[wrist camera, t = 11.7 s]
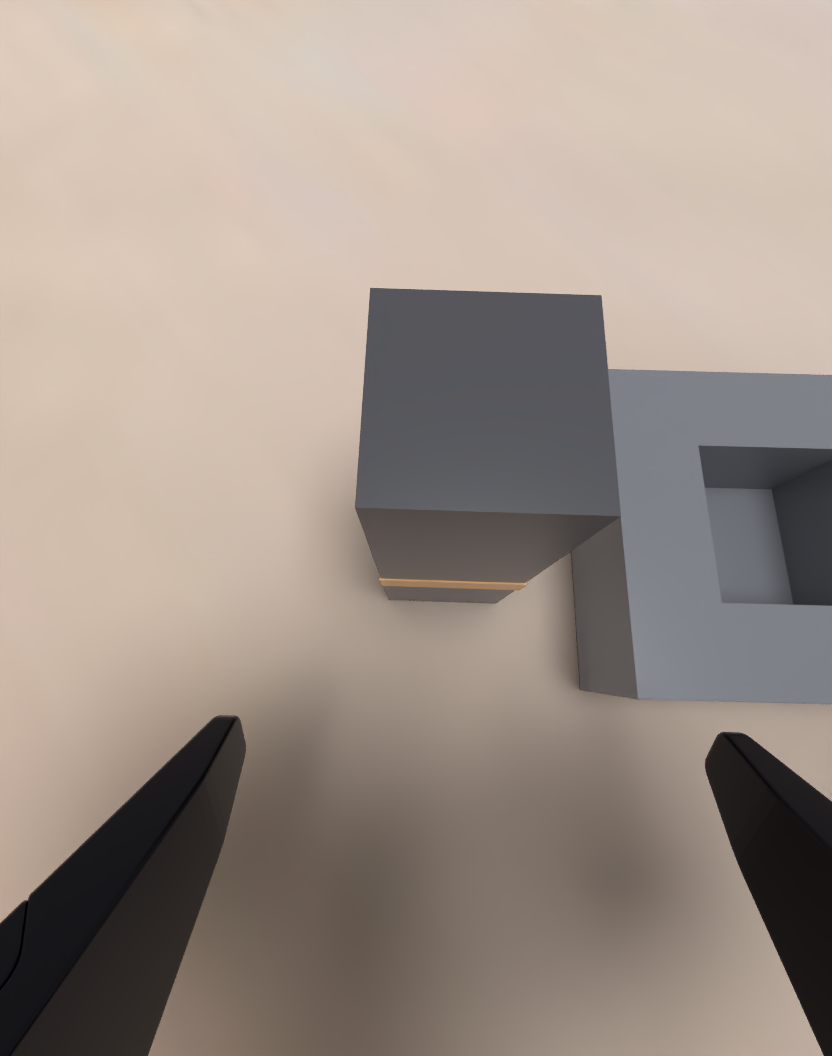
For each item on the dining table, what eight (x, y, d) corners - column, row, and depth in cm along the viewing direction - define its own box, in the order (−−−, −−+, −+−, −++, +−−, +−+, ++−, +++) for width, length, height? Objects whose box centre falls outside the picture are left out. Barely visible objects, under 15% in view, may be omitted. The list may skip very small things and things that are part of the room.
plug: (497, 604, 18) (624, 519, 7) (387, 601, 18) (351, 510, 7) (495, 500, 19) (604, 293, 8) (392, 497, 19) (367, 285, 8)
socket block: (861, 696, 17) (1015, 708, 13) (580, 690, 17) (638, 699, 13) (805, 440, 20) (917, 377, 15) (563, 433, 20) (606, 369, 15)
